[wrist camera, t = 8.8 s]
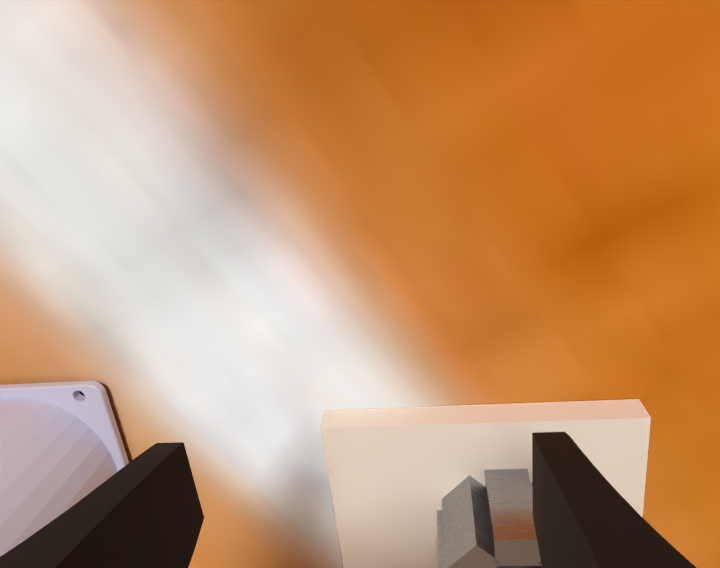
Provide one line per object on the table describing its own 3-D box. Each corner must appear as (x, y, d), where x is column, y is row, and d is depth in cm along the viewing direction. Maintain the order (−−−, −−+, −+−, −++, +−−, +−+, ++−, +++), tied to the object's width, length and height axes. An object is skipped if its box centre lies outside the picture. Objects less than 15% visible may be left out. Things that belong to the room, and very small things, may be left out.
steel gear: (442, 576, 24) (445, 654, 21) (433, 470, 22) (434, 540, 19) (578, 576, 23) (601, 657, 20) (581, 467, 21) (607, 538, 18)
